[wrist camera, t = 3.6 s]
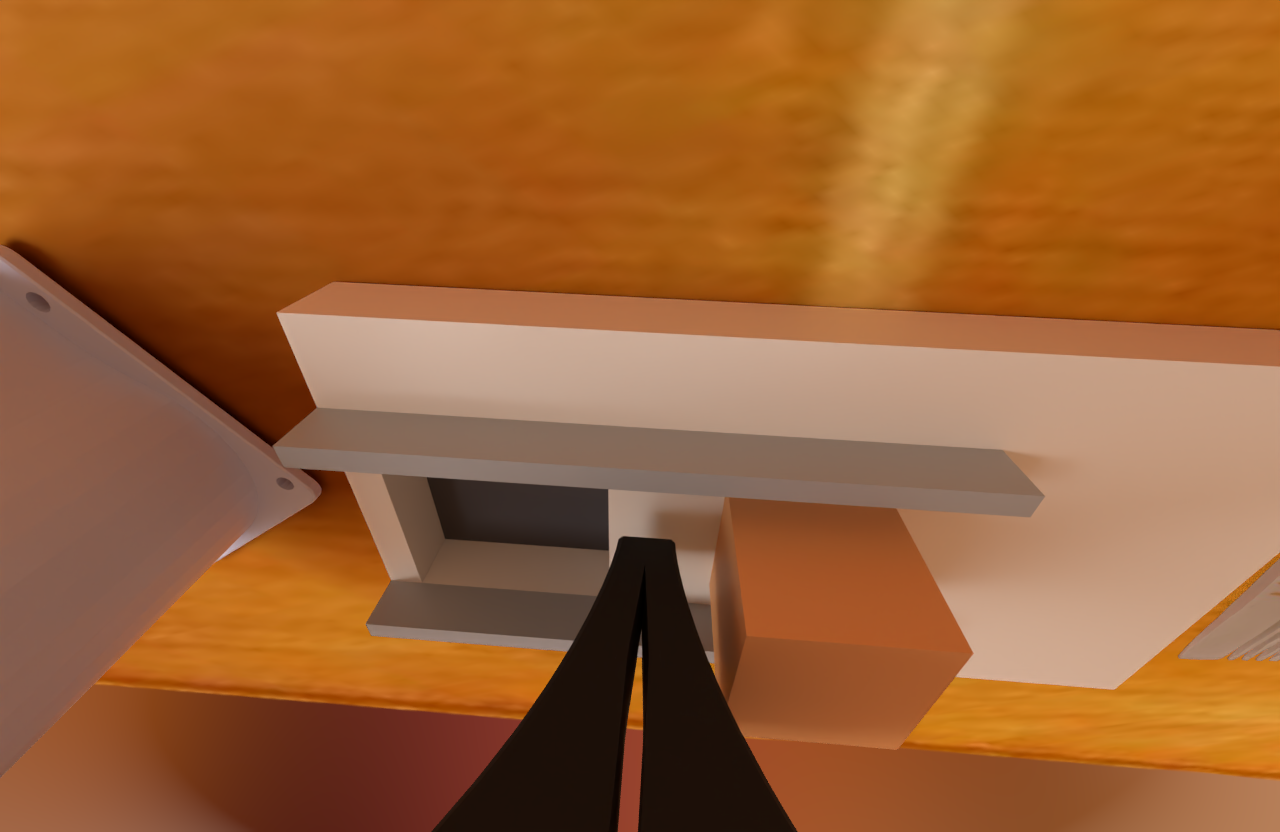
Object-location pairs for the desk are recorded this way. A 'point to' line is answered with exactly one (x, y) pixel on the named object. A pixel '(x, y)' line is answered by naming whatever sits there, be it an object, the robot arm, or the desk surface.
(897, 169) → the desk surface
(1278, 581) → the grooming comb
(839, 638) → the block
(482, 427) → the trough
